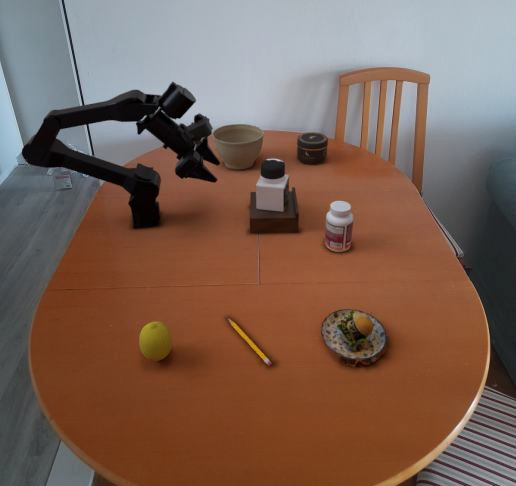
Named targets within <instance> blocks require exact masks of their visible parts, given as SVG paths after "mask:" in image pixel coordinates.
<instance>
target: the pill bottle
mask: <svg viewBox="0 0 516 486" xmlns="http://www.w3.org/2000/svg"><path fill="white" fill-rule="evenodd" d="M325 216H326V217H325V218H326V219H325V235H324V236H325V237H324V244H325V246H326V248H327V249H329V250H330V251H332V252H335V253H342V252H346V251H348V250H349V249H350V248H351V246H352V241H353V240H352V239H353V227H354V226H353V225H354V215H353V213H352V205H351V204H350V203H349V202H347V201H346V200H345V201H344V200H335V201H333V202H331V203H330V205H329V211H328V212H327V213H326V215H325Z"/></svg>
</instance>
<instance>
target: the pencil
mask: <svg viewBox="0 0 516 486" xmlns="http://www.w3.org/2000/svg"><path fill="white" fill-rule="evenodd" d="M228 321H229V323H230V326H231V327H233V328H234V330H235V331H236V332H237V333H238V334H239V335H240V336H241V337H242V339H243V340H245V342H246V343H247V344H248V345H249V346H250V347H251V348H252V350H253V351H254V352H255V353H256V354H257V356H259V357H260V358H261V359H262V361H264V363H265V364H266V365H267V366H268V367H271V366H272V365H273V362H271V360H270V359H269V358H268V357H267V356H266V355H265V354H264V353H263V351H261V349H260V348H259V347H258V346H257V345H256V344H255V343H254V342H253V341H252V339H251V338H249V336H247V334H246V333H245V332H244V331H243V330H242V329H241V328H240V326H239V325H237V323H236V322H235V321H233V320H231V319H230V318H228Z"/></svg>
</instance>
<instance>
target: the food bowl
mask: <svg viewBox="0 0 516 486" xmlns="http://www.w3.org/2000/svg"><path fill="white" fill-rule="evenodd" d="M320 334H321V336H322V338H323V341H324V342H325V345H326V346H327V347H328V348H329V349H330V352H332V353H333V354H334V355H336V356H339V357H340V358H341V359H342V363H343V364H344V366H350V367H356V365H357V363H358V362H360V363H361V364H362V365H365V366H369V365H372V364H374V363H375V362H376V361H377V360H379V359H380V357H381V356H384V354H385V353H386V349H387V343H388V336H387V331H386V329H385V328H384V325H383V324H382V323H381V322H380V320H378V319H377V318H376V317H375V316H374V315H372V313H368V312H364V311H362V310H360V309H355V308H354V309H351V308H345V309H338V310H335V311H333V312H331V313H330V314H328V315H327V316H326V317H325V318H324V319H323V321H322V324H321V331H320Z"/></svg>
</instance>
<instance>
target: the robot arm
mask: <svg viewBox="0 0 516 486" xmlns="http://www.w3.org/2000/svg"><path fill="white" fill-rule="evenodd" d="M196 102H197V99H196V97H195V96H194V95H193V93H192V92H191V91H190V90H188V89H187V88H186V87H183V86H182V85H180V84H177V83H176V82H175V81H171V83H170V84H169V85H168V86H167V88H166V90H165V91H164V92H163V93H161V94H152V93H145V92H143V91H141V90H140V89H131V90H128V91H125V92H123V93H120V94H118V95H116V96H114V97H111V98H109V99H107V100H105V101H99V102H94V103H88V104H82V105H77V106H72V107H66V108H62V109H61V108H60V109H52V110H50V111H49V112H48V113H47V114H46V115H45V117H44V118H43V120H42V123H41V124H40V126H39V128H38V129H37V131H36V133H35V134H34V135H32V136H31V137H30V139H28V141H27V142H26V143H25V144H24V146H23V147H22V149H21V156H22V158H23V160H24V162H25V163H27V164H28V165H30V166H33V167H39V168H44V169H54V168H55V169H56V168H63V169H66V170H69V171H72V172H75V173H78V174H82V175H85V176H88V177H91V178H95V179H97V180H100V181H103V182H107V183H110V184H113V185H116V186H119V187H122V188H123V189H124V190H125V191H126V192H127V193H128V194H129V195H130V196H129V199H128V202H127V204H128V206H129V208H130V211H131V217H132V228H133V229H141V228H142V229H143V228H151V227H158V226H160V225H159V224H160V221H161V214H162V213H161V207H160V202H159V201H157V199H158V197H159V195H160V191H161V184H162V177H161V175H160V173H159V172H158V171H156V170H155V169H154V166H146V165H144V164H142V163H139V162H138V163H137V164H136V167H125V166H122V165H119V164H116V163H113V162H110V161H107V160H104V159H102V158H98V157H95V156H92V155H90V154H87V153H84V152H80V151H78V150H75V149H72V148H70V147H69V146H67V145H66V144H65V143H64V142H63V141H62V140H60V139H58V138H57V137H58V135H59V133H60V131H61V130H64V129H70V128H76V127H81V126H87V125H92V124H98V123H103V122H107V121H109V122H110V121H115V122H120V123H135V122H136V123H135V126H136V130H137V132H136V133H137V135H140V136H141V134H142V133H143V132H145V130H146V131H147V132H148V133H150V134H151V135H152V136H153V137H155V139H157V140H158V141H160V143H162V144H163V145H162V148H163V149H164V150H167V149H169V150H171V151H172V152H173V153H174V154H176V157H175V158H176V159H177V160H178V161H177V162H176V165H175V168H174V173H175V175H176V176H177V177H178V178H179V179H181V180H183V179H188V178H189V179H195V180H200V181H203V182H209V183H212V184H213V183H214V184H215V183H217V182H218V178H217V177H216V176H215V174H214V173H213V172H212V171H211V170H210V169H209V168H208V167H207V166H206V165H205V164H204V161H205V162H208V163H210V164H212V165H215V166H217V167H218V166H219V165H220V164H221V161H220V159H219V158H218V157H217V156H216V154H215V152H214V151H213V150H212V148H211V146H210V145H209V137H210V136H211V135H212V134H213V129H214V127H213V126H212V124H211V122H210V118H209V117H207V115H205V116H204V115H203V114H202V113H200V112H198V113H197V114H195V115H194V117H193V122H191V124H189V125H186V124H185V123H184V122H183V123H182V122H180V123H179V124H178V123H177V122H176V120H177V119H179V120H180V119H181V118H183V116H185V114H186V113H187V112H188V111H189V110H190V109H191V108H192V107H193V105H195V103H196ZM174 120H175V121H174Z"/></svg>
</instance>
